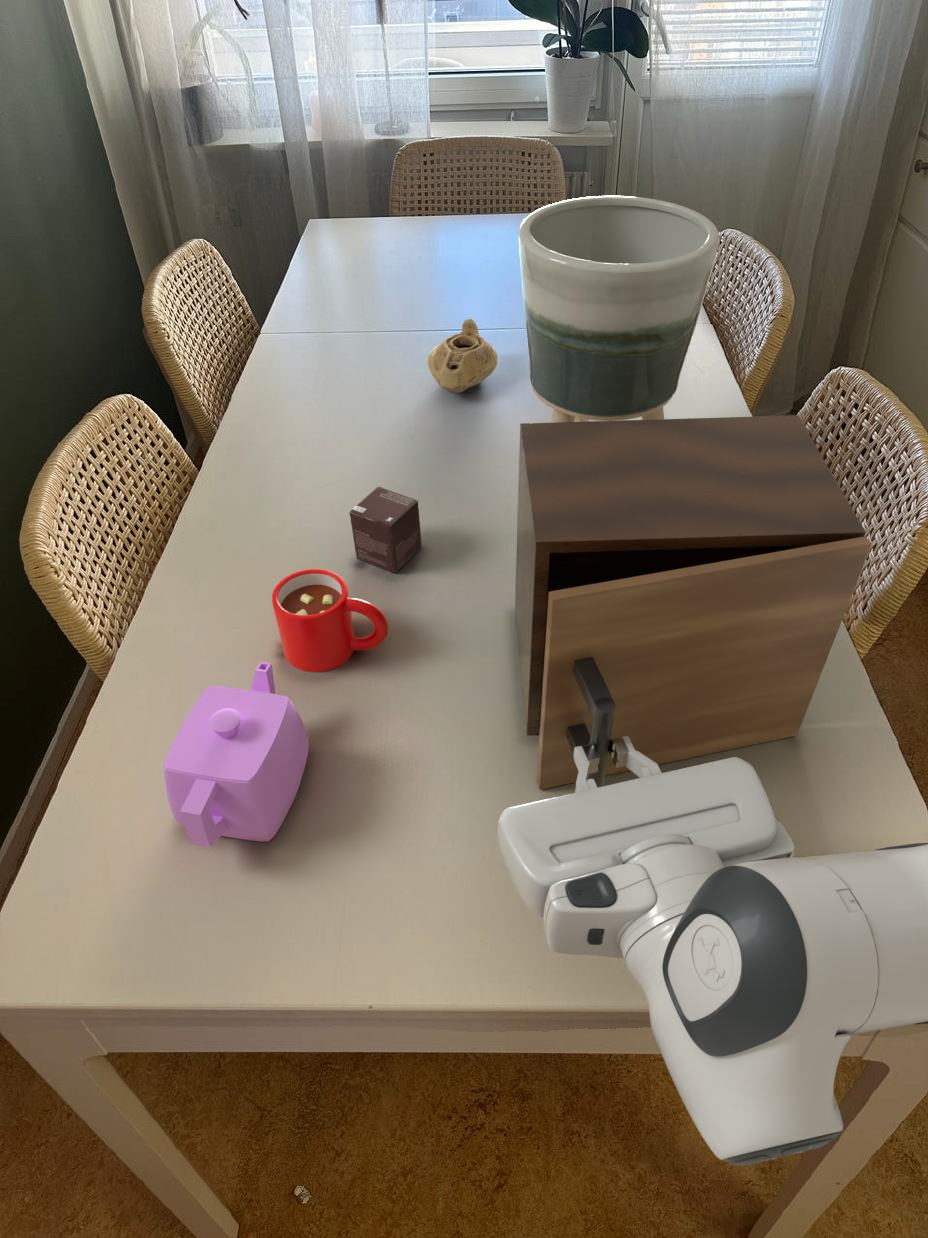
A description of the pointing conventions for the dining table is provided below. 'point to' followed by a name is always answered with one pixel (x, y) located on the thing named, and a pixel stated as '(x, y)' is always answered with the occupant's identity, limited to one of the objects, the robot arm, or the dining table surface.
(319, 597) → the mug
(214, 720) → the teapot
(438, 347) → the oil lamp
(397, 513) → the box
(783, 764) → the dining table surface
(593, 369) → the planter
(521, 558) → the cupboard
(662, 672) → the cupboard door
